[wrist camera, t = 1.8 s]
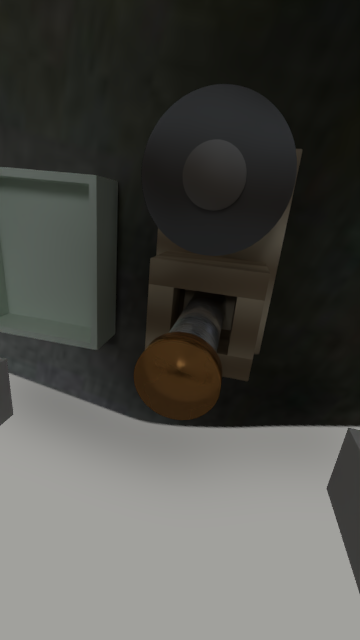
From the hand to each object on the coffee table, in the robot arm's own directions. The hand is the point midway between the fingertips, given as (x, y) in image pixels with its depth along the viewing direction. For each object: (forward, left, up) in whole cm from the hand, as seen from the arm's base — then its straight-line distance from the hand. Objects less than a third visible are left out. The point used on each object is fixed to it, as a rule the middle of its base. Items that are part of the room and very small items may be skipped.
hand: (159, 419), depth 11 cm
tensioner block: (-5, 0, -16) cm, 17 cm away
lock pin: (0, 0, -16) cm, 15 cm away
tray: (-2, -15, -16) cm, 22 cm away
